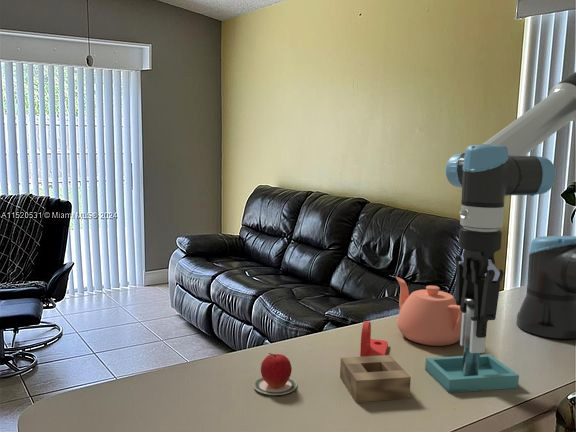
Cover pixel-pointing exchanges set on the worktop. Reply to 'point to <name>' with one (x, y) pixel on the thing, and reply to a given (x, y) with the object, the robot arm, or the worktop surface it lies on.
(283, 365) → the apple
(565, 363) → the worktop surface
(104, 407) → the worktop surface
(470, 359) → the pin
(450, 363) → the tray
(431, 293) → the teapot
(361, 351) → the bracket
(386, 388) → the block
